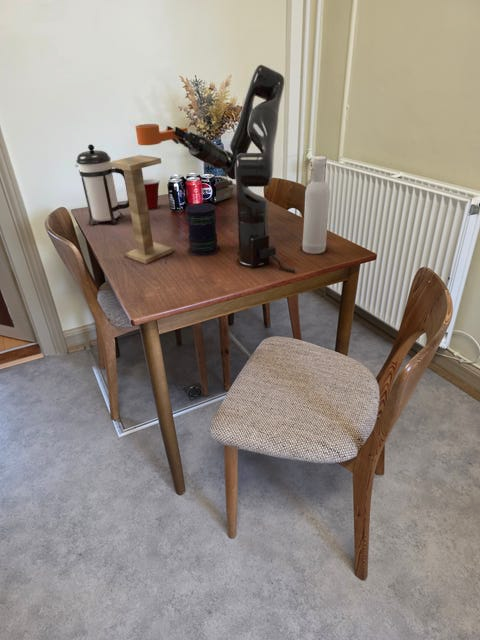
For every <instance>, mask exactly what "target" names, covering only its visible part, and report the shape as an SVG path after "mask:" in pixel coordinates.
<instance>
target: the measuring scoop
mask: <svg viewBox="0 0 480 640" xmlns="http://www.w3.org/2000/svg"><path fill="white" fill-rule="evenodd" d="M134 127H135V133H136V139H137V144H138V145H139V146H155V145H159V144H161V143H162V142H167V141H171V140H172V139H176V138H180V137H179V136H177V135H175V134H174V133H173V132H174V128H173V129H171V130H166V129H165V130H162V131H160V125H159V124H157V123H144V124H143V123H142V124H137V125H135V126H134ZM179 128H180V129H181V130H183V131H187V132H188V133H189V131H188V128H187V127H179Z"/></svg>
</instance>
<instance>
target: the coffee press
mask: <svg viewBox="0 0 480 640" xmlns="http://www.w3.org/2000/svg"><path fill="white" fill-rule="evenodd" d="M87 149H88V150H86V151H83V152H80V153H79V154H78V155H77V158H76V162H75V165H74V167H75V168H78V169H79V170H78V172H79V176H80V179H81V183H82V187H83V191H84V195H85V201H86V204H87V209H88V214H89V220H88V225H90V226H93V225H94V224H95V223H96V222H110V223H111V225H117V221H116V219H117V218H118V217H119V218H122V217H123V214H122V212H120V210H126V209H129V208H130V206H129V200H128V199H127V202H126V203H124V204H121V203H120V204H119V202H118V196H117V192H116V191H117V190H116V186H115V180H114V174H113V173H115V174H119V175H121V176H122V178H123V180H124V181H125V177H124V171H123V169H118V168H113V167H110V165H109V162H111V161H112V159H111V156H109V155H110V154H108V152H107V151H104V150H99V149H97V150H96V149H95V146H94V145H93V144H88V146H87ZM124 185H125V186H126V183H125V182H124ZM125 189H126V191H125V192H127V188H126V187H125ZM126 196H127V198H128V194H127V193H126ZM92 220H93V221H92Z"/></svg>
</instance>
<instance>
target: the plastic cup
mask: <svg viewBox="0 0 480 640" xmlns="http://www.w3.org/2000/svg"><path fill="white" fill-rule="evenodd" d="M143 180H144V187H145V193H146V200H147V206H148V211H149V210H155V209H157V208H158V206H159V202H158V201H159V185H160V182H161V180H159V179H155V178H154V179H151V178H150V179H148V178H147V179H143Z"/></svg>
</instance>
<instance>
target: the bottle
mask: <svg viewBox="0 0 480 640" xmlns="http://www.w3.org/2000/svg"><path fill="white" fill-rule="evenodd" d="M312 164H313V165H312V166H313V168H312V171H313V172H312V180H311V182H309V183H308V184H307V186H306V189H305V191H304V193H305V195H304V211H303V213H304V214H303V231H302V233H303V235H302V251H303V252H304V253H306V254H310V255H311V254H312V255H319V254H322V253H324V252H326V248H327V236H328V223H329V209H330V199H331V198H330V197H331V189H330V185H329V184H328V183H327V182H326V180H325V177H326V175H325V174H326V164H327V158H326V157H325V156H324V155H323V156H322V155H317V156H314V157H313V161H312Z"/></svg>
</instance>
